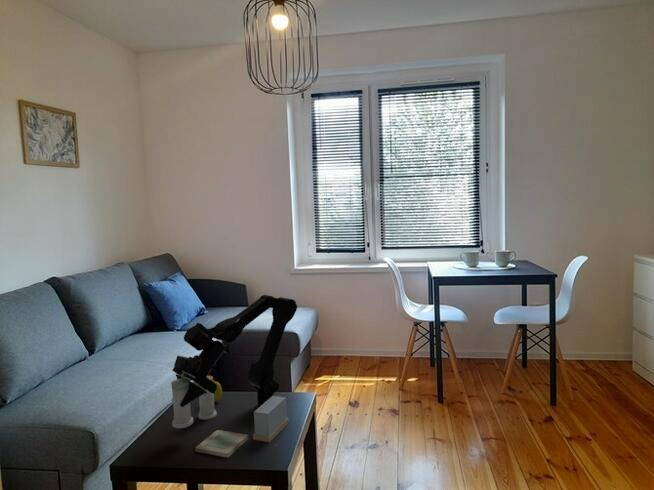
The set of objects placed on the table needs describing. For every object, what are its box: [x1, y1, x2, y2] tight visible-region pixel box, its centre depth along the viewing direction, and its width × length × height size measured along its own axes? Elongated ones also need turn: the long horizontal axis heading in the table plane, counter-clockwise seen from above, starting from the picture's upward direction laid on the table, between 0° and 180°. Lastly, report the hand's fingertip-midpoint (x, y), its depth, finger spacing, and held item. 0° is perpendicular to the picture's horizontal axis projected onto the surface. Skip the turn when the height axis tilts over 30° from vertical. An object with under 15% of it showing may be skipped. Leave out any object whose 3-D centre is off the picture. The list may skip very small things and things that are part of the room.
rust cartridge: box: [197, 375, 218, 421], centre depth 154 cm, size 6×6×13 cm
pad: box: [194, 429, 249, 459], centre depth 135 cm, size 11×11×1 cm
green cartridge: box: [170, 378, 194, 429], centre depth 138 cm, size 6×6×13 cm
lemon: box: [213, 380, 223, 403], centre depth 165 cm, size 6×6×8 cm
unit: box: [252, 395, 290, 443], centre depth 142 cm, size 13×6×8 cm, turn 159°
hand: (177, 403), depth 137 cm, fingers closed on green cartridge, 5 cm apart
